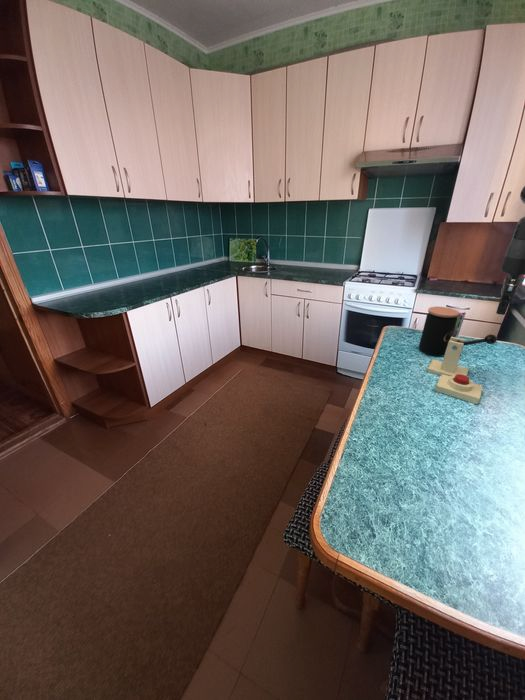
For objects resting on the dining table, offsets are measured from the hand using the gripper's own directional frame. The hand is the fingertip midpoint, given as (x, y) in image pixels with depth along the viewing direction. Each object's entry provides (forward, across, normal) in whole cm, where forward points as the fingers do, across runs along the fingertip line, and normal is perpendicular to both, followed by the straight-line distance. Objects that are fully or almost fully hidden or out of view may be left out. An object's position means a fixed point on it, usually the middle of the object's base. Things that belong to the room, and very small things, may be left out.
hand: (500, 311), depth 91 cm
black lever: (+13, 0, +4) cm, 14 cm away
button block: (+25, -12, +4) cm, 28 cm away
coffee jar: (+25, +15, +17) cm, 34 cm away
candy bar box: (+25, +22, +16) cm, 37 cm away
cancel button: (+22, -12, +4) cm, 25 cm away
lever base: (+25, 0, +9) cm, 27 cm away
